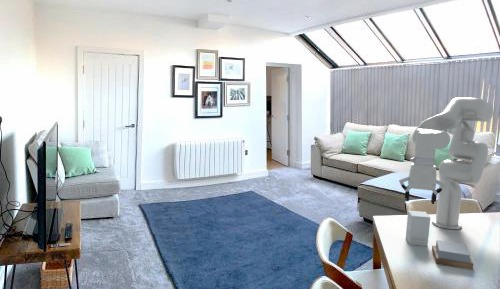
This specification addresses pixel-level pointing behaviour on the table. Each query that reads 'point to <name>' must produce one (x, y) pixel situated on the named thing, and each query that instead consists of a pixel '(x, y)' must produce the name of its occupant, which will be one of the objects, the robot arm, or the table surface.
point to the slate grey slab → (452, 251)
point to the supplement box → (417, 228)
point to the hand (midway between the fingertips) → (419, 201)
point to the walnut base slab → (451, 261)
